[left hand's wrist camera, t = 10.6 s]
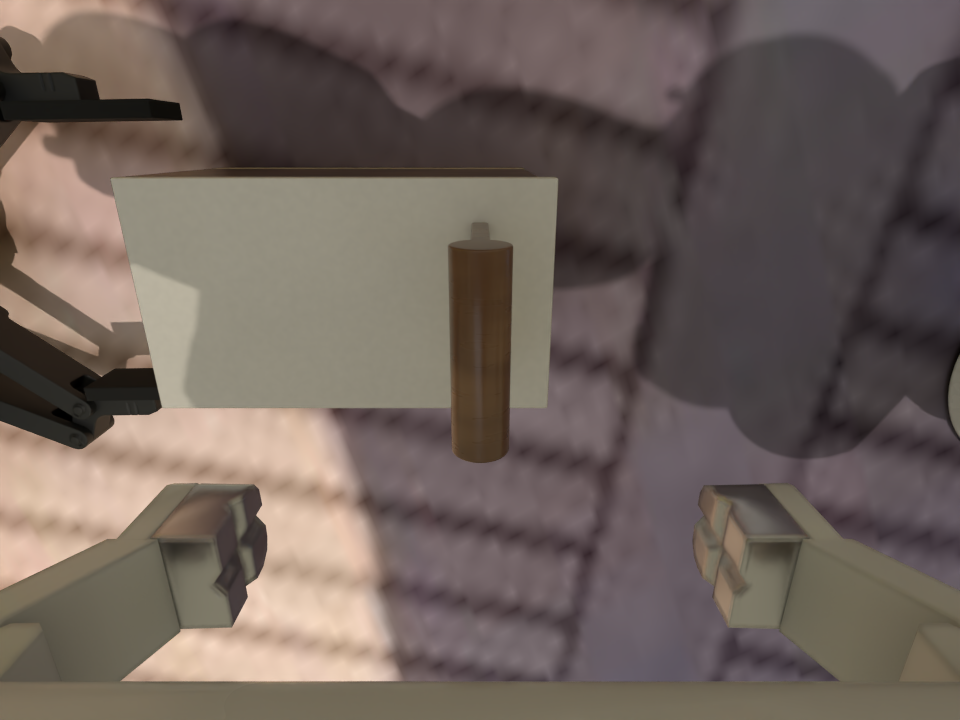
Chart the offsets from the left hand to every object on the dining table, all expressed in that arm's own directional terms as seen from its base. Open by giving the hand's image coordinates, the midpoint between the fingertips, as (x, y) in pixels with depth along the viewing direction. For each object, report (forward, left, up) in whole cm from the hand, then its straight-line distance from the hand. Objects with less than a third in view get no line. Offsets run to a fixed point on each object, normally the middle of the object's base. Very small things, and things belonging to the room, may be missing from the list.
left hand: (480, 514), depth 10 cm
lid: (+6, -1, -16) cm, 17 cm away
